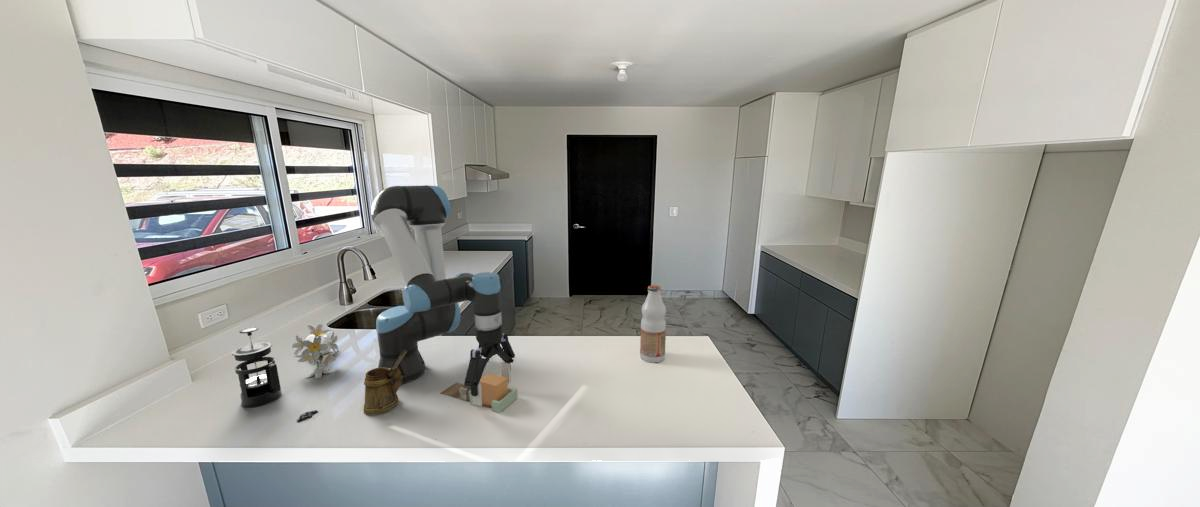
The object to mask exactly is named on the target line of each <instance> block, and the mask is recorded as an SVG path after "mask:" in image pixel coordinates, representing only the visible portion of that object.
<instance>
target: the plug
mask: <svg viewBox="0 0 1200 507" xmlns="http://www.w3.org/2000/svg"><path fill="white" fill-rule="evenodd" d="M479 384H481V392H482V403H483V404H486V405H490V406H492V402H491V401H493V400H497V401H500V400H501V399H503V398H504V397H505V396H506V395H507V394H508V388H509V386H508V383H507V378H506V377H502V375H497V374H494V373H490V372H489V373H487V374H485V375H484V376H483V377H482V376H481V379H480V382H479ZM465 388H467V389H468V391H469V390H471V387H468V386H465Z"/></svg>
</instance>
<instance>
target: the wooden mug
mask: <svg viewBox="0 0 1200 507" xmlns="http://www.w3.org/2000/svg"><path fill="white" fill-rule="evenodd" d="M406 353H407V351H406V349H405V350H404V351H403V352H402V353H401V355H400V356H399V357H398V358H397V360H396V361H395V363H394V364H393V365H392V367H391V368H386V367H380V368H378V367H375V368H372V369H370V370H368V371H367V372H366V373H365V377H364V381H363V385H364V404H363V413H364V414H365V415H367V416H377V415H382V414H384V413H388V412H390V411H391V410H393V409H394V408H396V406H398V403H399V397H398V396H399V395H398V394H397V392H398V390H399V388H400V386H401V385H402V384H401V382H402V375H401V372H400V370H399V369H398V368H397V366H398V365H399V363H400V362H401V360H402V359H403V357H404V356H405V354H406ZM393 377H394V378H395V379H396V382H395V384H393V383H392V378H393Z"/></svg>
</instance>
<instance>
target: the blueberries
mask: <svg viewBox="0 0 1200 507" xmlns="http://www.w3.org/2000/svg"><path fill="white" fill-rule="evenodd" d="M318 413H319V410H317V409H315V410H310V411H309V410H308V411H306V412H305V411H304V413H301V414H300V415H299V417H298V418H297V419H296V423H300V422H303V421H307V420H309V419H311V418H312V417H313V415H316V414H318Z"/></svg>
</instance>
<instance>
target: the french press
mask: <svg viewBox="0 0 1200 507" xmlns="http://www.w3.org/2000/svg"><path fill="white" fill-rule="evenodd" d="M258 330H259V327H248V328H244V329H241V330H239V333H240V334H246V335H247V336H248V338H249V342H250V344H246V345H243V346H240V347H237V348H236V349H234V350H233V351H232V352H231V355H232V356H233V357H234V359H235V361H237V362H241V363H239V364H237V365H235V367H234V370H235V374H236V375H238V380H239V387H240V390H241V392H240V394H239V395H240V400H241V402H240V406H241V407H242V408H244V409H245V408H246V409H250V408H251V409H252V408H257V407H261V406H264V405H265V406H266V405H268V404H270V403H272V402H274V401H276V400H278V399H279V398H280V397H281V396H282V394H283V393H282V389H281V382H280V377H279V376H280V375H279V372H278V366H277V364H276V361H275V357H273V356H268V355H269V354H270V353H271V352H272V348H271V347H272V346H273V344H272V342H267V341H263V342H261V341H260V342H254V343H253V339H252V336H253V334H252V332H256V331H258ZM258 362H259V363H261V362H267V364H265V365H263V366H260V367H258V366H257V363H258ZM251 364H254V368H251V369H248V365H251ZM263 371H265V373H262V374H259V373H260V372H263ZM251 374H256V375H254V376H251V377H250V375H251Z"/></svg>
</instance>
